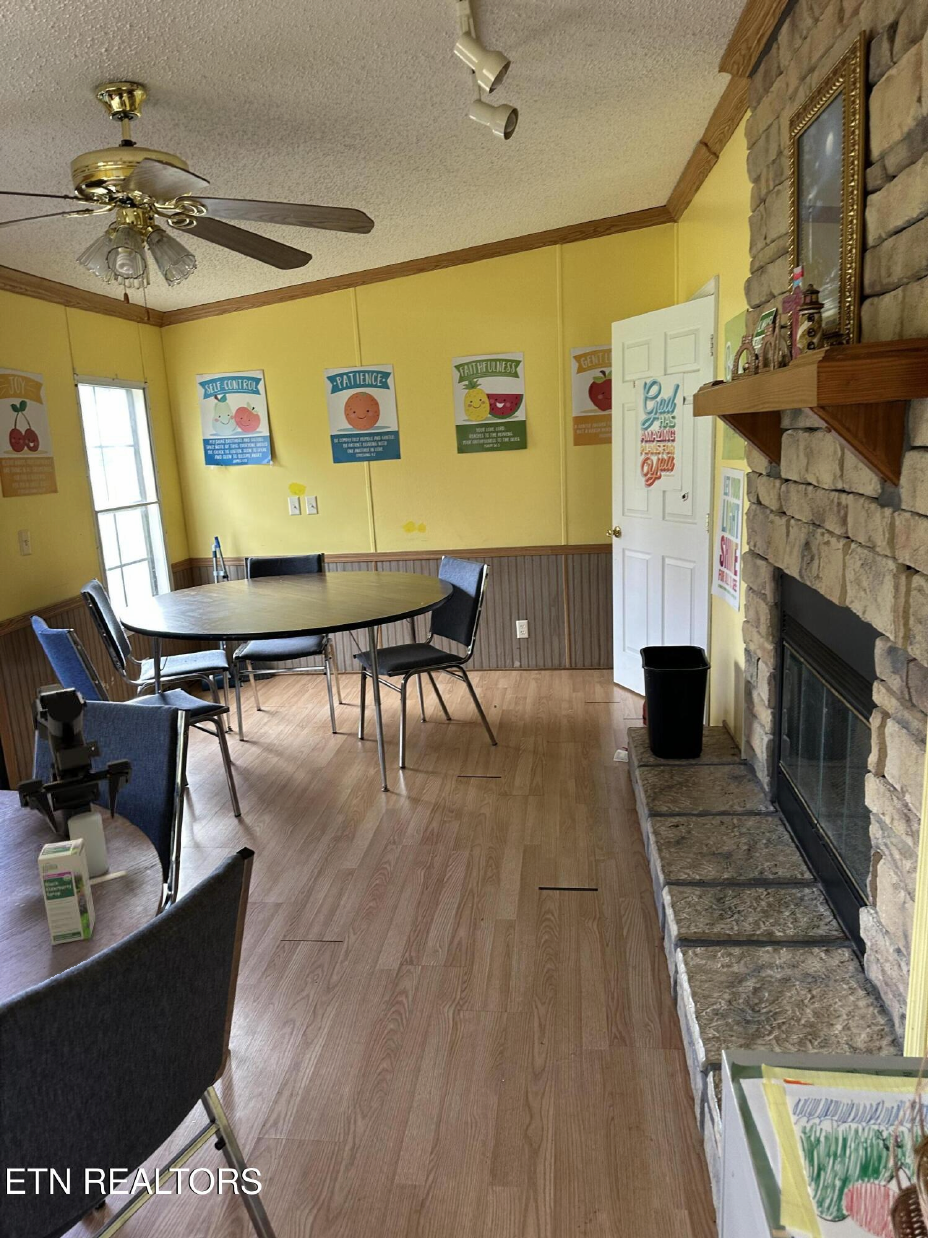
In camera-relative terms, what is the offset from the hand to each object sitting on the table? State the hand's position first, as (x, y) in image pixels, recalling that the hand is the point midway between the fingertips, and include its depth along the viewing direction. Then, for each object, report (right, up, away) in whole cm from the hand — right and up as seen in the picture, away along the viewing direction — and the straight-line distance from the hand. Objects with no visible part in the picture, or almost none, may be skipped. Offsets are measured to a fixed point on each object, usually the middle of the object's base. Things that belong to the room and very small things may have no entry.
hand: (85, 825), depth 149 cm
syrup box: (+6, -13, -17) cm, 22 cm away
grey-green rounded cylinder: (+1, -8, +2) cm, 9 cm away
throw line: (+3, -9, -3) cm, 10 cm away
